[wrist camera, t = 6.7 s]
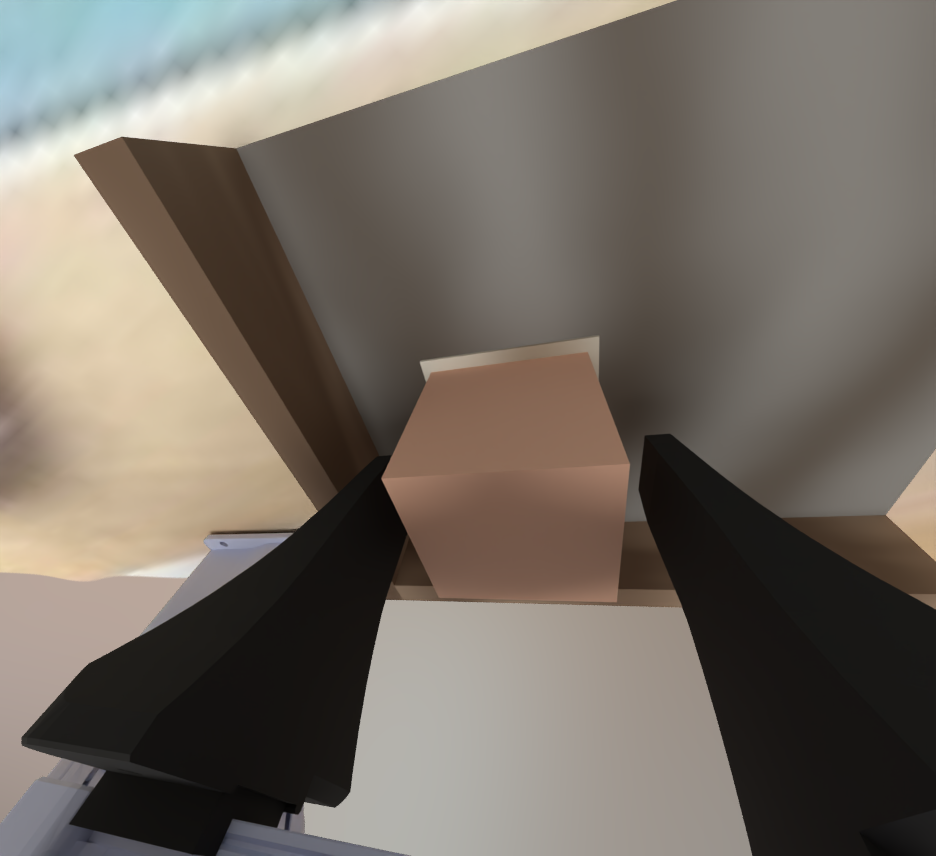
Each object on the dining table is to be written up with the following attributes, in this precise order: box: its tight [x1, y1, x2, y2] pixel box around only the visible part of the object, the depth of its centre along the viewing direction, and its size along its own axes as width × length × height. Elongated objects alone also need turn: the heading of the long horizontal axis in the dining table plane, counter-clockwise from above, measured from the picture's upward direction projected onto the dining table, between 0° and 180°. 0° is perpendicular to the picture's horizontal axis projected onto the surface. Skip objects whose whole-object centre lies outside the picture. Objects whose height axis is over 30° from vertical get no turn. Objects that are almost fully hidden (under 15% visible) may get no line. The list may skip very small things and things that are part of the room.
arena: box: [74, 0, 936, 609], centre depth 10 cm, size 20×16×4 cm
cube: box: [381, 352, 630, 602], centre depth 10 cm, size 5×5×5 cm
